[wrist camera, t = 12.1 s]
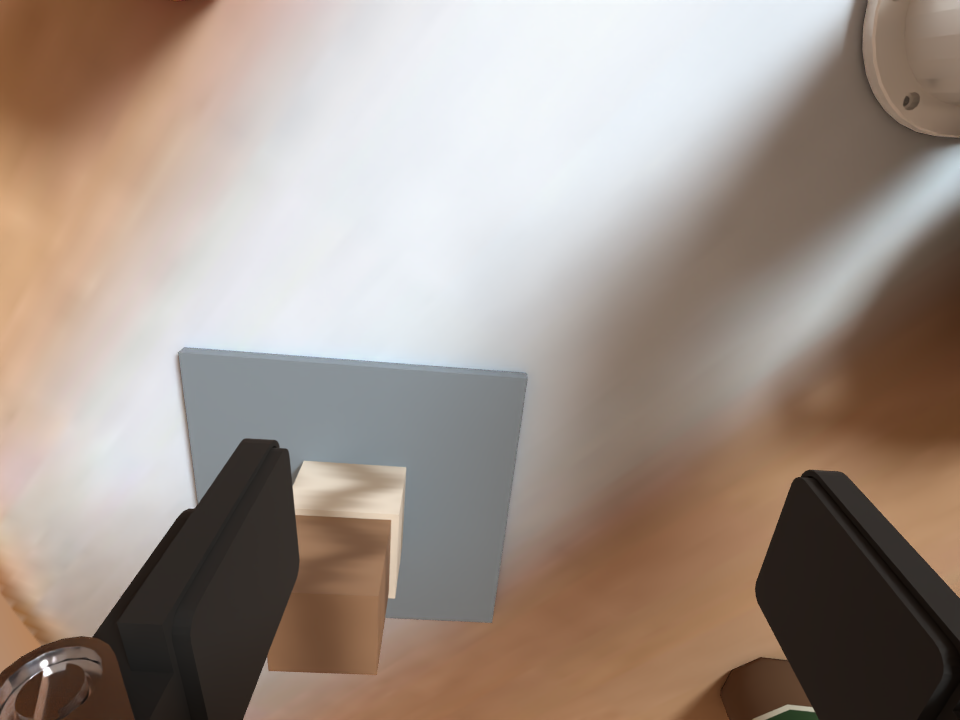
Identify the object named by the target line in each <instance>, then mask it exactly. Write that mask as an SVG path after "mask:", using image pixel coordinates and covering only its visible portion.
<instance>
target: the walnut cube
mask: <svg viewBox="0 0 960 720" xmlns="http://www.w3.org/2000/svg"><path fill="white" fill-rule="evenodd" d="M295 517H296V527H297V537H298V547H299V559H300V563H299V572H298V576H297V579H296V582H295V585H294V587H293V590H292V593H291V595H290V598H289V600H288V603H287V606H286V608H285V611H284V613H283V616H282V619H281V621H280V624H279V626H278V629H277V632H276V634H275V637H274V640H273V642H272V645H271V647H270V650H269V653H268V655H267V658H268V669H269V671H286V672H314V673H341V674H369V675H377V669H378V662H379V656H380V649H381V642H382V635H383V629H384V622H385V615H386V609H387V602H388V595H389V575H390V545H391V520H382V519H363V518H344V517H325V516H306V515H295Z"/></svg>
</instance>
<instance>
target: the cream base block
mask: <svg viewBox="0 0 960 720" xmlns="http://www.w3.org/2000/svg"><path fill="white" fill-rule="evenodd" d="M405 483H406V467H396V466H380V465H364V464H349V463H333V462H317V461H303V464H302V466H301V468H300V471H299V473H298V475H297V478H296V480H295V482H294V484H293V496H294V506H295V515H306V516H325V517H344V518H363V519H382V520H391V545H390V575H389V595H388V598H393V599H395V595H396V588H397V581H398V573H399V566H400V558H401V551H402V540H403V521H404V502H405Z"/></svg>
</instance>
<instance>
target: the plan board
mask: <svg viewBox="0 0 960 720" xmlns="http://www.w3.org/2000/svg"><path fill="white" fill-rule="evenodd" d="M178 354H179V361H180V369H181V377H182V384H183V392H184V400H185V407H186V415H187V423H188V430H189V438H190V446H191V454H192V461H193V469H194V477H195V484H196V492H197V500H198V503H199V502H200V500H201V499H202V498H203V496H204V495H205V493H206V492H207V490H208V489H209V487H210V486H211V484H212V483H213V482H214V480H215V479H216V477H217V476H218V474H219V473H220V471H221V470H222V468H223V467H224V466H225V464H226V463H227V461H228V460H229V458H230V457H231V455H232V454H233V452H234V451H235V450H236V448H237V447H238V445H239V444H240V442H241V441H242V440H243V439H245V438H251V439H269V440H276V441H278V443H279V446H280V448H286V449H288V451H289V456H290V465H291V476H292V486H293V484H294V482H295V480H296V478H297V475H298V473H299V471H300V468H301V466H302V464H303V461H317V462H333V463H349V464H364V465H380V466H396V467H406V483H405V502H404V521H403V540H402V551H401V558H400V566H399V573H398V581H397V588H396V595H395V599H393V598H388V602H387V609H386V615H385V618H400V619H421V620H442V621H464V622H485V623H492V620H493V613H494V606H495V599H496V592H497V585H498V578H499V571H500V564H501V557H502V551H503V544H504V537H505V530H506V523H507V516H508V509H509V502H510V495H511V488H512V481H513V475H514V468H515V461H516V454H517V447H518V440H519V433H520V426H521V419H522V412H523V405H524V399H525V392H526V385H527V375H526V373H518V372H505V371H491V370H478V369H465V368H451V367H438V366H425V365H411V364H398V363H385V362H371V361H358V360H345V359H332V358H318V357H305V356H292V355H278V354H265V353H252V352H238V351H225V350H212V349H198V348H185V347H184V348H183V349H182V350H181V351H179V352H178Z"/></svg>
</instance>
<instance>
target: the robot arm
mask: <svg viewBox="0 0 960 720" xmlns="http://www.w3.org/2000/svg"><path fill="white" fill-rule="evenodd" d="M862 52H863V58H864V65H865V71H866V76H867V78H868V81H869V83H870V86H871V89H872V91H873V94H874V95H875V97H876V98H877V100H878V101H879V103H880V104H881V106H882V107H883V109H884V110H885V111H886V112H887V113H888V114H889V115H890V116H891V117H893V118H894V119H895V120H896V121H897V122H898V123H900V124H902V125H904V126H906V127H908V128H910V129H912V130H914V131H916V132H919V133H924V134H928V135H933V136H942V137H956V138H958V137H960V0H868V4H867V9H866V14H865V19H864V24H863V46H862ZM903 100H904V101H903ZM299 563H300V559H299V547H298V537H297V527H296V517H295V506H294V496H293V486H292V476H291V465H290V456H289V451H288V449H286V448H280V446H279V443H278V441H276V440H269V439H251V438H245V439H243V440H242V441H241V442H240V444H239V445H238V447H237V448H236V450H235V451H234V452H233V454H232V455H231V457H230V458H229V460H228V461H227V463H226V464H225V466H224V467H223V468H222V470H221V471H220V473H219V474H218V476H217V477H216V479H215V480H214V482H213V483H212V484H211V486H210V487H209V489H208V490H207V492H206V493H205V495H204V496H203V498H202V499H201V500H200V502H199V503H198V505H197V506H196V508H195V509H187V510H185V511H183V512H182V513H181V514H180V516H179V517H178V518H177V519H176V521H175V522H174V523H173V525H172V526H171V528H170V529H169V530H168V532H167V533H166V535H165V536H164V537H163V539H162V540H161V542H160V543H159V544H158V546H157V547H156V549H155V550H154V551H153V553H152V554H151V556H150V557H149V558H148V560H147V561H146V563H145V564H144V565H143V567H142V568H141V570H140V571H139V573H138V574H137V575H136V577H135V578H134V580H133V581H132V582H131V584H130V585H129V587H128V588H127V589H126V591H125V592H124V594H123V595H122V596H121V598H120V599H119V601H118V602H117V603H116V605H115V606H114V608H113V609H112V610H111V612H110V613H109V615H108V616H107V617H106V619H105V620H104V622H103V623H102V624H101V626H100V627H99V629H98V630H97V631H96V633H95V634H94V636H93V637H92V638H91V637H83V636H80V637H72V638H65V639H60V640H58V641H55V642H52V643H49V644H46V645H43V646H41V647H39V648H37V649H35V650H33V651H31V652H29V653H27V654H26V655H24V656H22V657H21V658H19V659H18V660H17V661H15V662H14V663H13V664H12V665H10V666H9V667H7V668H6V669H5V670H4V671H2V672H1V674H0V720H243V718H244V715H245V713H246V710H247V707H248V705H249V702H250V700H251V697H252V694H253V692H254V689H255V686H256V684H257V681H258V679H259V676H260V673H261V671H262V668H263V666H264V663H265V660H266V658H267V655H268V653H269V650H270V647H271V645H272V642H273V640H274V637H275V634H276V632H277V629H278V626H279V624H280V621H281V619H282V616H283V613H284V611H285V608H286V606H287V603H288V600H289V598H290V595H291V593H292V590H293V587H294V585H295V582H296V579H297V576H298V572H299ZM755 592H756V598H757V602H758V604H759V606H760V608H761V610H762V612H763V614H764V616H765V618H766V619H767V621H768V623H769V625H770V627H771V629H772V631H773V633H774V635H775V637H776V639H777V640H778V642H779V644H780V646H781V648H782V650H783V652H784V654H785V656H786V658H787V660H788V661H789V663H790V665H791V667H792V669H793V671H794V673H795V675H796V677H797V679H798V681H799V682H800V684H801V686H802V688H803V690H804V692H805V694H806V696H807V698H808V700H809V702H810V703H811V705H812V707H813V709H814V711H815V713H816V715H817V717H818V719H819V720H960V598H959V597H958V596H957V595H956V594H955V593H954V592H953V591H952V590H951V588H950V587H949V586H948V585H947V584H946V583H945V582H944V581H943V580H942V579H941V578H940V577H939V575H938V574H937V573H936V572H935V571H934V570H933V569H932V568H931V567H930V566H929V565H928V563H927V562H926V561H925V560H924V559H923V558H922V557H921V556H920V555H919V554H918V553H917V552H916V550H915V549H914V548H913V547H912V546H911V545H910V544H909V543H908V542H907V541H906V540H905V539H904V537H903V536H902V535H901V534H900V533H899V532H898V531H897V530H896V529H895V528H894V527H893V525H892V524H891V523H890V522H889V521H888V520H887V519H886V518H885V517H884V516H883V515H882V514H881V512H880V511H879V510H878V509H877V508H876V507H875V506H874V505H873V504H872V503H871V502H870V500H869V499H868V498H867V497H866V496H865V495H864V494H863V493H862V492H861V491H860V490H859V489H858V487H857V486H856V485H855V484H854V483H853V482H852V481H851V480H850V479H849V478H848V477H847V476H846V475H845V474H844V473H842V472H838V471H820V470H808V471H805V472H804V473H803V474H802V476H801V477H798V478H795V479H794V480H793V482H792V484H791V487H790V490H789V492H788V495H787V498H786V501H785V504H784V506H783V509H782V512H781V515H780V517H779V520H778V523H777V526H776V528H775V531H774V534H773V537H772V540H771V542H770V545H769V548H768V551H767V553H766V556H765V559H764V562H763V565H762V567H761V570H760V573H759V576H758V578H757V581H756V585H755Z"/></svg>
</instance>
